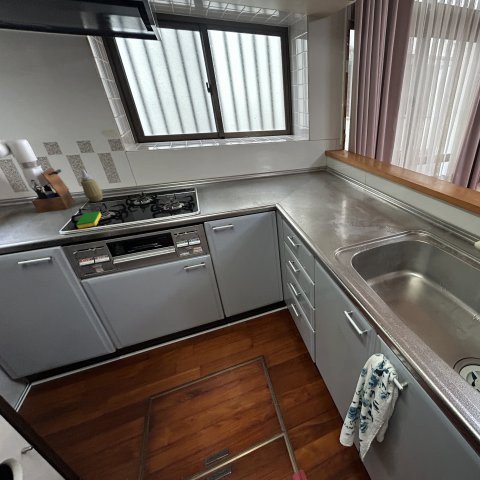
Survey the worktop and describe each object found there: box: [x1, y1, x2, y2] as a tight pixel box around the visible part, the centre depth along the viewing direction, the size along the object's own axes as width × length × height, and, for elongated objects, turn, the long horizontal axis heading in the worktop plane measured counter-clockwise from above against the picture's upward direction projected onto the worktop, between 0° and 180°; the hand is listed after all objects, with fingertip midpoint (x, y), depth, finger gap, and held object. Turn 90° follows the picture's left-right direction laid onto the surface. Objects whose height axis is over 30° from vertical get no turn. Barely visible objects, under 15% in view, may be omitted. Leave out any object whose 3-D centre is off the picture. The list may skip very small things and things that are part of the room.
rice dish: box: [36, 190, 56, 199], centre depth 146 cm, size 7×7×3 cm
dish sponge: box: [75, 210, 102, 229], centre depth 132 cm, size 7×14×2 cm, turn 27°
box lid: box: [41, 167, 70, 197], centre depth 145 cm, size 13×12×5 cm
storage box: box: [31, 190, 75, 214], centre depth 149 cm, size 13×12×7 cm
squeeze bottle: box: [80, 169, 103, 203], centre depth 154 cm, size 8×8×18 cm
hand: (47, 196), depth 147 cm, fingers closed on rice dish, 7 cm apart
